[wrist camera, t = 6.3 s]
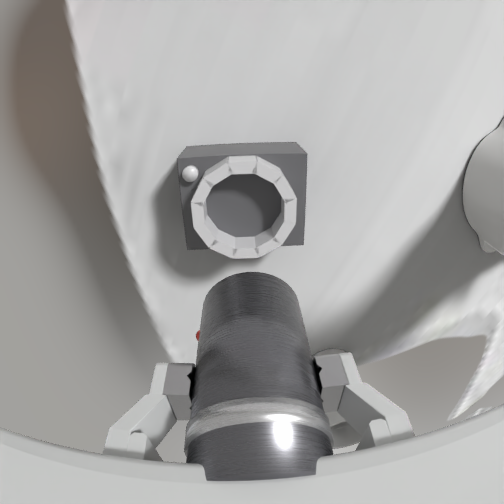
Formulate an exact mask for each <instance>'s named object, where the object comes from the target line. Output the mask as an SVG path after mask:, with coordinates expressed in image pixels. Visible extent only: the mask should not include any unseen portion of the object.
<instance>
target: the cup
mask: <svg viewBox="0 0 504 504" xmlns="http://www.w3.org/2000/svg"><path fill="white" fill-rule="evenodd" d="M340 353H346V352H345V351H343V350H341V349H327V350H323V351H321V352H319V353H317V354H315V355H314V356H322V355H330V354H340ZM314 356H312V360H313V357H314ZM326 415H327V416H328V418H329V422H330V426H331V431H332V435H333V440H334V445H333V448H332V449H336V448H343V447H347V446H351V445H354V444H356V443H359V442H360V441H361V439H362V436H361V435H360V434H359V433H358V432H357V431H356V430H355V429H354V428H353V427H352V426H351V425H350V424H349V423H348V422H347V421H346V420H345V419H344V418H343V417H342V416H341V415H340V414H339V413H338V411H335V412H327V413H326Z"/></svg>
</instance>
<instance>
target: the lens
mask: <svg viewBox="0 0 504 504" xmlns="http://www.w3.org/2000/svg"><path fill="white" fill-rule="evenodd" d="M196 338H197V340H198V341H199V342H198V350H197V359H196V367H195V376H194V386H193V395H192V405H191V415H190V420H189V422H188V424H187V427H186V436H185V448H184V452H185V455H186V457H187V461H186V463H195V464H200V465H202V466H203V468H204V471H205V476H206V480H207V481H254V480H271V479H283V478H293V477H302V476H310V475H316V466H317V460H318V459H319V458H320V457H323V456H329V455H333V451H332V448H333V445H334V440H333V435H332V431H331V426H330V422H329V418H328V416H327V415H326V413H325V412H324V409H323V404H322V400H321V395H320V391H319V386H318V382H317V377H316V373H315V369H314V365H313V360H312V356H311V352H310V347H309V343H308V339H307V335H306V331H305V327H304V323H303V318H302V314H301V310H300V306H299V302H298V299H297V296H296V294H295V292H294V291H293V289H292V288H291V287H290V286H289V285H288V284H287V283H286V282H284V281H283V280H281V279H279V278H277V277H275V276H272V275H270V274H265V273H260V272H245V273H239V274H235V275H232V276H229V277H227V278H225V279H223V280H221V281H220V282H218V283H217V284H216V285H215V286H213V287H212V289H211V290H210V291H209V292H208V294H207V295H206V298H205V300H204V303H203V310H202V317H201V325H200V330H199V331H198V332H197V333H196Z"/></svg>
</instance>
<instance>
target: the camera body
mask: <svg viewBox="0 0 504 504" xmlns="http://www.w3.org/2000/svg"><path fill="white" fill-rule="evenodd" d="M177 164H178V174H179V184H180V193H181V202H182V211H183V219H184V227H185V235H186V243H187V250H195V249H212V250H214V251H216V252H219V253H221V254H223V255H225V256H228V257H230V258H233V259H241V258H259V257H261V256H263V255H265V254H267V253H269V252H271V251H272V250H274V249H276V248H278V247H280V246H292V245H304V227H305V205H306V179H307V153H306V152H305V151H304V150H303V149H302V148H301V147H300V146H299V145H298V144H297V143H296V142H270V143H236V144H216V145H201V146H187V147H186V148H185V149H184V150H183V152H182V153H181V154H180V155H179V157H178V158H177Z"/></svg>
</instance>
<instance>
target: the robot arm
mask: <svg viewBox="0 0 504 504" xmlns="http://www.w3.org/2000/svg"><path fill="white" fill-rule="evenodd" d="M463 206H464V211H465V215H466V218H467V220H468V222H469V224H470V225H471V227H472V228H473V229H474V230H475V232H476V233H477V234H478V236H479V242H480V246H481V248H482V250H483V251H485V252H486V253H492V252H495V251H498V252H499V253H500V254H502V255H503V256H504V118H503V120H502V122H501V124H500V125H499V127H498V128H497V129H496V130H494V131H493V132H491V133H490V134H489V135H487V136H486V137H485V138H484V139H483V140H482V141H481V142H480V144H479V145H478V146H477V148H476V150H475V151H474V153H473V155H472V157H471V159H470V162H469V164H468V167H467V170H466V174H465V179H464V185H463ZM313 365H314V369H315V373H316V377H317V382H318V386H319V391H320V395H321V400H322V404H323V409H324V412H325V413H327V412H335V411H338V413H339V414H340V415H341V416H342V417H343V418H344V419H345V420H346V421H347V422H348V423H349V424H350V425H351V426H352V427H353V428H354V429H355V430H356V431H357V432H358V433H359V434H360V435H361V436H362V439H361V441H360V443H359V445H358V447H357V449H356V450H355V451H353V452H348V453H341V454H336V455H329V456H323V457H320V458H319V459H318V460H317V466H316V475H310V476H302V477H293V478H283V479H271V480H254V481H207V480H206V476H205V471H204V468H203V466H202V465H200V464H195V463H173V462H163V460H162V459H161V457H160V456H159V454H158V453H157V451H156V450H155V448H156V447H157V446H158V445H159V443H160V442H161V441H162V440H163V438H164V437H165V436H166V434H167V433H168V432H169V431H170V429H171V428H172V427H173V425H174V424H175V423H176V420H190V415H191V405H192V395H193V386H194V376H195V364H194V363H157V364H156V365H155V369H154V373H153V378H152V382H151V387H150V391H149V394H146V395H144V396H143V397H142V398H141V399H140V400H139V401H138V402H137V403H136V404H135V405H134V406H132V407H131V408H130V409H129V410H128V411H127V412H126V413H125V414H124V415H123V416H122V417H121V418H120V419H119V420H118V421H116V422H115V423H114V424H113V425H112V426H111V427H110V428H109V431H108V434H107V438H106V442H105V446H104V451H103V454H99V453H94V452H88V451H83V450H79V449H74V448H70V447H65V446H61V445H57V444H53V443H49V442H45V441H42V440H38V439H35V438H31V437H28V436H25V435H21V434H18V433H15V432H12V431H9V430H6V429H4V428H1V427H0V504H504V404H502V405H500V406H497V407H495V408H493V409H491V410H488V411H486V412H484V413H481V414H479V415H476V416H474V417H471V418H469V419H466V420H463V421H461V422H458V423H455V424H452V425H450V426H447V427H444V428H441V429H438V430H435V431H432V432H429V433H425V434H422V435H419V436H415V434H414V432H413V429H412V426H411V424H410V421H409V419H408V416H407V413H406V412H405V411H403V410H402V409H401V408H400V407H398V406H397V405H396V404H394V403H393V402H391V401H390V400H389V399H387V398H386V397H385V396H383V395H382V394H381V393H379V392H378V391H376V390H375V389H374V388H373V387H371V386H370V385H369V384H367V383H366V382H363V383H362V381H361V378H360V375H359V372H358V369H357V366H356V364H355V361H354V358H353V355H352V353H351V352H348V353H340V354H330V355H322V356H314V357H313Z"/></svg>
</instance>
